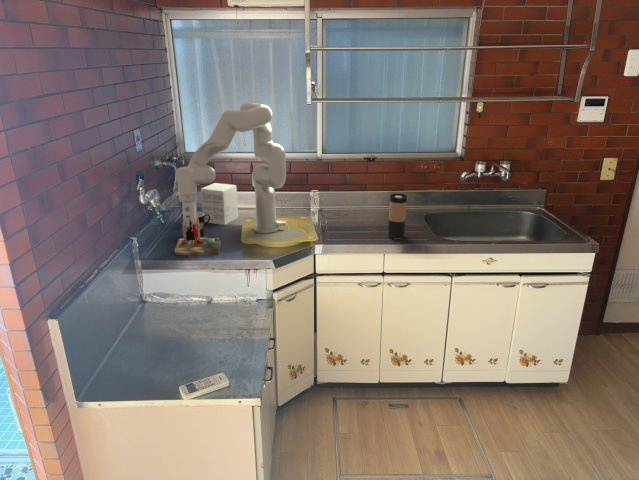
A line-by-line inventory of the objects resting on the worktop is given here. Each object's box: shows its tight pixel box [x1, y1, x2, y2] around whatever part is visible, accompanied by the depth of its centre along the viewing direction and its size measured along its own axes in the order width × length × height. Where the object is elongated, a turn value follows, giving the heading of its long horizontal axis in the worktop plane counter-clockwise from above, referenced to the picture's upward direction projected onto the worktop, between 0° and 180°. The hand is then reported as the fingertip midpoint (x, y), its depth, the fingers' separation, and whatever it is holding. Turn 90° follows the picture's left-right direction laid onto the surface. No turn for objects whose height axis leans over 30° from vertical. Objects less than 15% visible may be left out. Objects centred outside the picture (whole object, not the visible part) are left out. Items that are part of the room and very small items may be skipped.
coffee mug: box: [197, 211, 210, 238], centre depth 230 cm, size 12×9×10 cm
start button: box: [207, 237, 215, 242], centre depth 210 cm, size 3×3×4 cm
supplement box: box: [200, 182, 239, 226], centre depth 250 cm, size 13×13×18 cm
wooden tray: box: [174, 237, 222, 256], centre depth 213 cm, size 18×13×5 cm
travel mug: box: [387, 193, 408, 239], centre depth 227 cm, size 8×8×20 cm
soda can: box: [181, 218, 201, 246], centre depth 211 cm, size 7×7×12 cm
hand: (191, 236), depth 212 cm, fingers closed on soda can, 7 cm apart
